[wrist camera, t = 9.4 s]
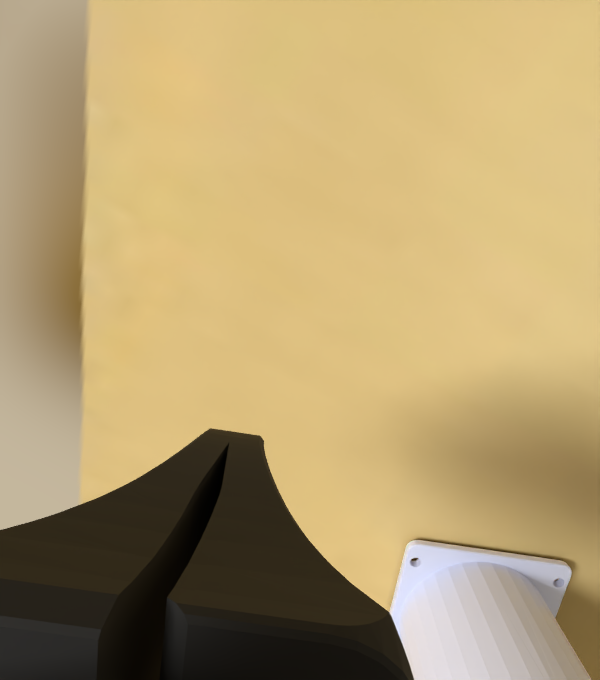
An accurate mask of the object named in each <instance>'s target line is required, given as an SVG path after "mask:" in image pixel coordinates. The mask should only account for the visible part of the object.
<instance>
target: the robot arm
mask: <svg viewBox="0 0 600 680" xmlns="http://www.w3.org/2000/svg"><path fill="white" fill-rule="evenodd" d="M413 558H418V560H416V561H411V559H413ZM571 575H572V571H571V568H570V567H569V566H568V564H567V563H566V562H564V561H561V560H554V559H548V558H541V557H534V556H527V555H520V554H513V553H506V552H499V551H492V550H485V549H478V548H471V547H464V546H457V545H450V544H444V543H437V542H430V541H423V540H413V541H410V542H409V543H408V544H407V546H406V549H405V553H404V557H403V561H402V565H401V569H400V573H399V577H398V581H397V585H396V588H395V592H394V596H393V600H392V604H391V608H390V612H388V611H387V610H385V609H384V608H383V607H381V606H380V605H379V604H378V603H376V602H375V601H374V600H372V599H371V598H370V597H368V596H367V595H366V594H364V593H363V592H362V591H360V590H359V589H358V588H356V587H355V586H354V585H353V584H351V583H350V582H349V581H348V580H347V579H346V578H345V577H344V576H343V575H341V574H340V573H339V572H338V571H337V570H336V569H335V568H334V567H333V566H332V565H331V564H330V563H329V562H328V561H327V560H326V559H325V558H324V557H323V556H322V555H321V554H320V552H319V551H318V550H317V549H316V548H315V547H314V546H313V545H312V543H311V542H310V541H309V540H308V538H307V537H306V536H305V534H304V533H303V532H302V530H301V529H300V528H299V526H298V524H297V523H296V521H295V520H294V518H293V517H292V515H291V514H290V512H289V510H288V508H287V507H286V505H285V503H284V501H283V499H282V497H281V495H280V493H279V491H278V489H277V487H276V484H275V482H274V479H273V477H272V474H271V472H270V469H269V466H268V463H267V459H266V456H265V451H264V441H263V439H262V438H261V436H258V435H251V434H244V433H237V432H231V431H224V430H217V429H209V430H207V431H206V432H204V433H203V434H202V435H200V436H199V437H198V438H196V439H195V440H194V441H192V442H191V443H190V444H189V445H187V446H186V447H185V448H183V449H182V450H181V451H179V452H178V453H176V454H175V455H173V456H172V457H171V458H169V459H168V460H166V461H165V462H163V463H162V464H160V465H159V466H157V467H155V468H154V469H152V470H151V471H149V472H147V473H146V474H144V475H143V476H141V477H139V478H137V479H136V480H134V481H132V482H130V483H128V484H126V485H124V486H122V487H120V488H118V489H116V490H114V491H112V492H110V493H108V494H106V495H103V496H101V497H99V498H97V499H94V500H91V501H89V502H86V503H84V504H81V505H78V506H76V507H73V508H70V509H68V510H65V511H63V512H60V513H57V514H54V515H51V516H48V517H45V518H42V519H38V520H35V521H32V522H29V523H25V524H21V525H18V526H14V527H10V528H7V529H3V530H0V680H592V679H591V678H590V676H589V674H588V673H587V671H586V669H585V668H584V666H583V664H582V663H581V661H580V659H579V658H578V656H577V654H576V653H575V651H574V649H573V648H572V646H571V644H570V643H569V641H568V639H567V638H566V636H565V634H564V633H563V631H562V629H561V628H560V626H559V624H558V623H557V621H556V619H555V618H556V615H557V612H558V610H559V607H560V604H561V602H562V599H563V596H564V594H565V591H566V588H567V586H568V583H569V580H570V578H571ZM558 578H559V579H558ZM556 579H558V580H557V581H554V580H556Z"/></svg>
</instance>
